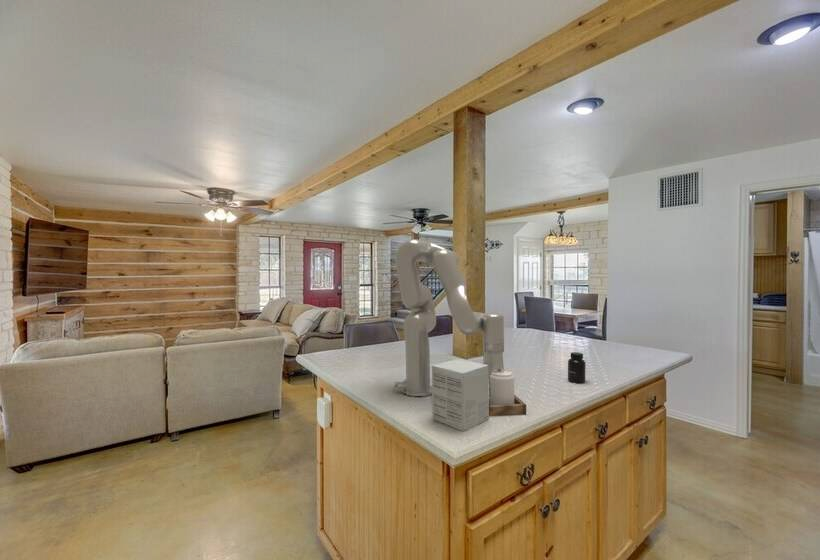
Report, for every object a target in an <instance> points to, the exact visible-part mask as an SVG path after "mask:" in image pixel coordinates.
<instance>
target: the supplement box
mask: <svg viewBox="0 0 820 560" xmlns="http://www.w3.org/2000/svg"><path fill="white" fill-rule="evenodd" d="M431 386H432V394H431V397H432V398H431V403H432V405H431V406H432V407H431V410H432V411H431V412H432V416H431V417H432V418H433V419H432V420H434V419H435V420H434V421H436V420H438V421H437V422H439V421H440V422H439V423H441V422H442V424H444V423H445V424H444V425H446V424H447V426H449V425H450V426H449V427H451V426H452V428H454V429H456V428H457V429H456V430H459V431H461V430H462V432H465V431H467V430H469V429H471V428H473V427H475V426H477V425H479V424H481V423H483V422H486V421H487V420H490V416H489V406H490V401H489V399H490V397H489V379H488V365H485V364H483V363H480V362H475V361H470V360H466V359H460V358H455V359H452V360H449V361H448V360H447V361H445V362H440V363H437V364H433V365H431Z"/></svg>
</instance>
